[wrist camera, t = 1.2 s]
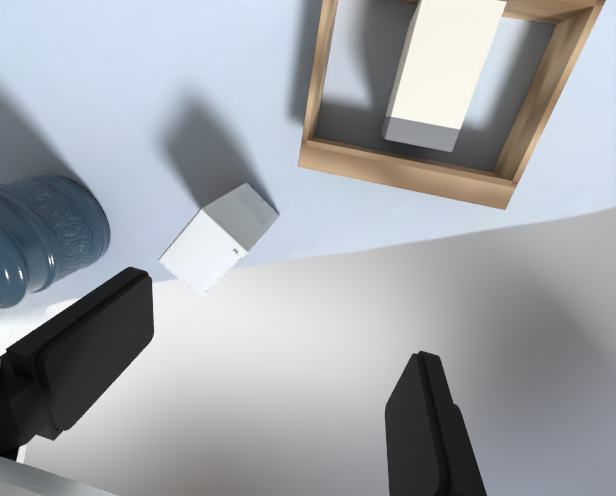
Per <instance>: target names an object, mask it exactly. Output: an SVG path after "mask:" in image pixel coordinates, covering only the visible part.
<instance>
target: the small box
mask: <svg viewBox="0 0 616 496" xmlns="http://www.w3.org/2000/svg"><path fill="white" fill-rule="evenodd" d="M279 216H280V215H279V214H278V213H277V212H276V211H275V210H274V209H273V208H272V207H271V206H270V205H269V204H268V203H267V202H266V201H265V200H264V199H263V198H262V197H261V196H260V195H259V194H258V193H257V192H256V191H255V190H254V189H253V188H252V187H251V186H250V185H249V184H248V183H244V184H242V185H241V186H239V187H237V188H235V189H234V190H232V191H230V192H229V193H227V194H225V195H223V196H222V197H220V198H218V199H216V200H215V201H213V202H211V203H210V204H208V205H206V206H204V207H203V208H201V209H200V210H199V211H198V213H197V214H196V215H195V216H194V217H193V219H192V220H191V221H190V222H189V223H188V225H187V226H186V227H185V228H184V229H183V231H182V232H181V233H180V234H179V235H178V237H177V238H176V239H175V240H174V241H173V243H172V244H171V245H170V246H169V247H168V249H167V250H166V251H165V252H164V253H163V255H162V256H161V257H160V258H159V259H158V260H159V262H161V263H162V264H163V265H164V266H165V267H166V268H167V269H168V270H169V271H170V272H172V273H173V274H174V275H175V276H176V277H177V278H178V279H179V280H180V281H182V282H183V283H184V284H185V285H186V286H187V287H188V288H190V289H191V290H192V291H193V292H194V293H195V294H196V295H197V296H199V297H200V298H202V297H203V296H204V295H205V294H206V293H207V292H208V291H209V290H210V289H211V287H213V285H214V284H216V283H217V281H218V280H220V279H221V278H222V277H223V276H224V275H225V274H226V273H227V272H228V271H229V270H230V269H231V268H232V267H233V266H234V265H235V264H236V263H238V262H239V261H240V260H241V259H242V258H243V257H244V256H246V255H247V254H248V253H249V252H250V251H251V249H252V248H253V247H254V246H255V245H256V243H257V242H258V241H259V240H260V239H261V238H262V237H263V236H264V234H265V233H266V232H267V231H268V230H269V229H270V227H271V226H272V225H273V224H274V223H275V221H276V220H277V219H278V218H279Z"/></svg>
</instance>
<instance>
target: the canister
mask: <svg viewBox="0 0 616 496" xmlns="http://www.w3.org/2000/svg"><path fill="white" fill-rule="evenodd" d="M109 243H110V230H109V226H108V222H107V219H106V217H105V215H104V213H103V211H102V209H101V208H100V206H99V205H98V203H97V202H96V201H95V199H94V198H93V197H92V196H91V195H90V194H89V193H88V192H87V191H86V190H84V189H83V188H82V187H81V186H79V185H78V184H76V183H74V182H72V181H70V180H68V179H65V178H62V177H57V176H35V177H29V178H25V179H23V180H21V181H16V182H11V183H5V184H0V309H7V308H11V307H14V306H16V305H17V304H19V303H20V302H21V301H22V300H23V298H24V297H25V295H26V294H28V293H37V292H41V291H43V290H46V289H47V288H49V287H50V286H51V285H52V284H53V283H55V282H57V281H59V280H61V279H63V278H65V277H66V276H68V275H70V274H72V273H74V272H76V271H78V270H80V269H84V268H86V267H88V266H90V265H92V264H93V263H95V262H96V261H97V260H98V259H99V258H100V257H102V256H103V255H104V254H105V252H106V251H107V249H108V246H109Z"/></svg>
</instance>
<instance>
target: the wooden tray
mask: <svg viewBox="0 0 616 496" xmlns="http://www.w3.org/2000/svg"><path fill="white" fill-rule="evenodd" d="M394 1H400V2H407V3H414V4H419V2H420V0H394ZM498 1H505V2H506V5H505V8H504V11H503V13H502V16H501V17H508V18H515V19H522V20H528V21H535V22H542V23H548V24H555V25H556V27H555V29H554V31H553V34H552V36H551V38H550V41H549V43H548V45H547V48H546V50H545V52H544V54H543V57H542V59H541V61H540V64H539V66H538V68H537V71H536V73H535V75H534V77H533V80H532V82H531V84H530V87H529V89H528V91H527V94H526V96H525V98H524V100H523V103H522V105H521V107H520V110H519V112H518V114H517V117H516V119H515V121H514V123H513V126H512V128H511V130H510V133H509V135H508V137H507V140H506V142H505V144H504V146H503V149H502V151H501V153H500V156H499V158H498V160H497V163H496V165H495V167H494V169H493V172H490V171H485V170H480V169H474V168H469V167H464V166H459V165H454V164H449V163H444V162H439V161H434V160H429V159H424V158H419V157H414V156H409V155H404V154H399V153H393V152H388V151H383V150H378V149H373V148H368V147H363V146H358V145H353V144H348V143H343V142H338V141H333V140H328V139H323V138H318V137H315V135H316V129H317V123H318V117H319V111H320V105H321V99H322V94H323V88H324V82H325V76H326V70H327V64H328V58H329V52H330V46H331V40H332V34H333V28H334V22H335V16H336V10H337V4H338V0H323V2H322V9H321V16H320V22H319V29H318V36H317V42H316V49H315V55H314V62H313V69H312V75H311V82H310V89H309V95H308V102H307V109H306V115H305V122H304V128H303V135H302V142H301V148H300V155H299V162H298V167H301V168H306V169H311V170H316V171H320V172H325V173H330V174H335V175H340V176H344V177H349V178H354V179H359V180H364V181H368V182H373V183H378V184H383V185H388V186H392V187H397V188H402V189H407V190H412V191H416V192H421V193H426V194H431V195H436V196H440V197H445V198H450V199H455V200H459V201H464V202H469V203H474V204H479V205H483V206H488V207H493V208H498V209H503V210H505V209H506V207H507V205H508V203H509V201H510V199H511V197H512V195H513V193H514V190H515V188H516V186H517V184H518V182H519V180H520V178H521V176H522V174H523V172H524V170H525V168H526V165H527V163H528V161H529V159H530V157H531V155H532V153H533V151H534V149H535V147H536V145H537V143H538V140H539V138H540V136H541V134H542V132H543V130H544V128H545V126H546V124H547V122H548V120H549V118H550V115H551V113H552V111H553V109H554V107H555V105H556V103H557V101H558V99H559V97H560V95H561V93H562V90H563V88H564V86H565V84H566V82H567V80H568V78H569V76H570V74H571V72H572V70H573V68H574V65H575V63H576V61H577V59H578V57H579V55H580V53H581V51H582V49H583V47H584V45H585V43H586V40H587V38H588V36H589V34H590V32H591V30H592V28H593V26H594V24H595V22H596V20H597V18H598V15H599V13H600V11H601V9H602V7H603V5H604V3H605V1H606V0H498Z"/></svg>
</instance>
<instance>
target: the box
mask: <svg viewBox="0 0 616 496" xmlns="http://www.w3.org/2000/svg"><path fill="white" fill-rule="evenodd" d="M505 5H506V2H505V1H498V0H420V2H419V4H418V6H417V8H416V10H415V13H414V15H413V17H412V19H411V21H410V24H409V27H408V30H407V34H406V38H405V42H404V46H403V50H402V54H401V58H400V61H399V65H398V69H397V73H396V77H395V81H394V85H393V89H392V92H391V96H390V100H389V104H388V108H387V112H386V116H385V120H384V123H383V127H382V131H381V135H382V136H383V137H384V139H386V140H391V141H396V142H401V143H406V144H412V145H417V146H422V147H427V148H432V149H437V150H442V151H448V152H452V150H453V148H454V145H455V142H456V139H457V137H458V134H459V131H460V128H461V126H462V123H463V120H464V117H465V115H466V112H467V109H468V107H469V104H470V101H471V98H472V96H473V93H474V90H475V87H476V85H477V82H478V79H479V76H480V74H481V71H482V68H483V65H484V63H485V60H486V57H487V54H488V52H489V49H490V46H491V44H492V41H493V38H494V35H495V33H496V30H497V27H498V24H499V22H500V19H501V16H502V13H503V11H504V8H505Z"/></svg>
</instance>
